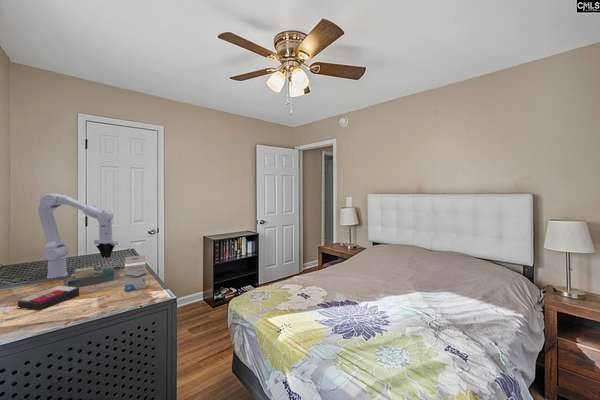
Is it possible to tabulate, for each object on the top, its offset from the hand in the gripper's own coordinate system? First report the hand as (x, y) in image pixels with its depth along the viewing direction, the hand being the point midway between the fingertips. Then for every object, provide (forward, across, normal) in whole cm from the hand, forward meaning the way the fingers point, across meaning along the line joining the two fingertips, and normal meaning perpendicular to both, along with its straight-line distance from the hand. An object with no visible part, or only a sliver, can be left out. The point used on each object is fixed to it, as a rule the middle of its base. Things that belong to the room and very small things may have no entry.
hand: (106, 257), depth 147 cm
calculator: (+9, +15, -37) cm, 41 cm away
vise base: (+8, +6, -12) cm, 16 cm away
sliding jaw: (+8, +2, -9) cm, 12 cm away
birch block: (+8, +4, -15) cm, 17 cm away
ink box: (+9, +37, -16) cm, 41 cm away
